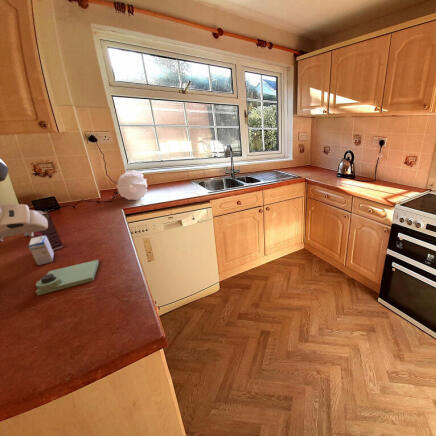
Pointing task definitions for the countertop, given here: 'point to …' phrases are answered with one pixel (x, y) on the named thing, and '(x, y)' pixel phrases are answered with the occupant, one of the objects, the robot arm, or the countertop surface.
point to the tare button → (47, 278)
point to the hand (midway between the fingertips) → (15, 237)
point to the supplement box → (50, 232)
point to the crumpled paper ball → (132, 185)
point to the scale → (69, 277)
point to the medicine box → (41, 250)
